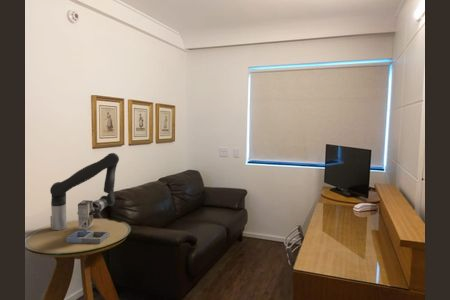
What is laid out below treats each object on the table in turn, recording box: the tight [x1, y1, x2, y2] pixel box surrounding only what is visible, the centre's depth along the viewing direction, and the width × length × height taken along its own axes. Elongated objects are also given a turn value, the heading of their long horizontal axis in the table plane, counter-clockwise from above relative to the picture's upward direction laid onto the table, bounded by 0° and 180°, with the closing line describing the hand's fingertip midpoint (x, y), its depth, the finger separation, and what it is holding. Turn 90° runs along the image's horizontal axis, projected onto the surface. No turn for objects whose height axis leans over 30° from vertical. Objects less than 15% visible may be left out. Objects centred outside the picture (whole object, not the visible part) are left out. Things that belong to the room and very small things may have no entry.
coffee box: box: [77, 199, 94, 230], centre depth 197 cm, size 9×6×16 cm
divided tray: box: [66, 228, 110, 244], centre depth 198 cm, size 22×13×4 cm, turn 86°
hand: (84, 213), depth 195 cm, fingers closed on coffee box, 7 cm apart
